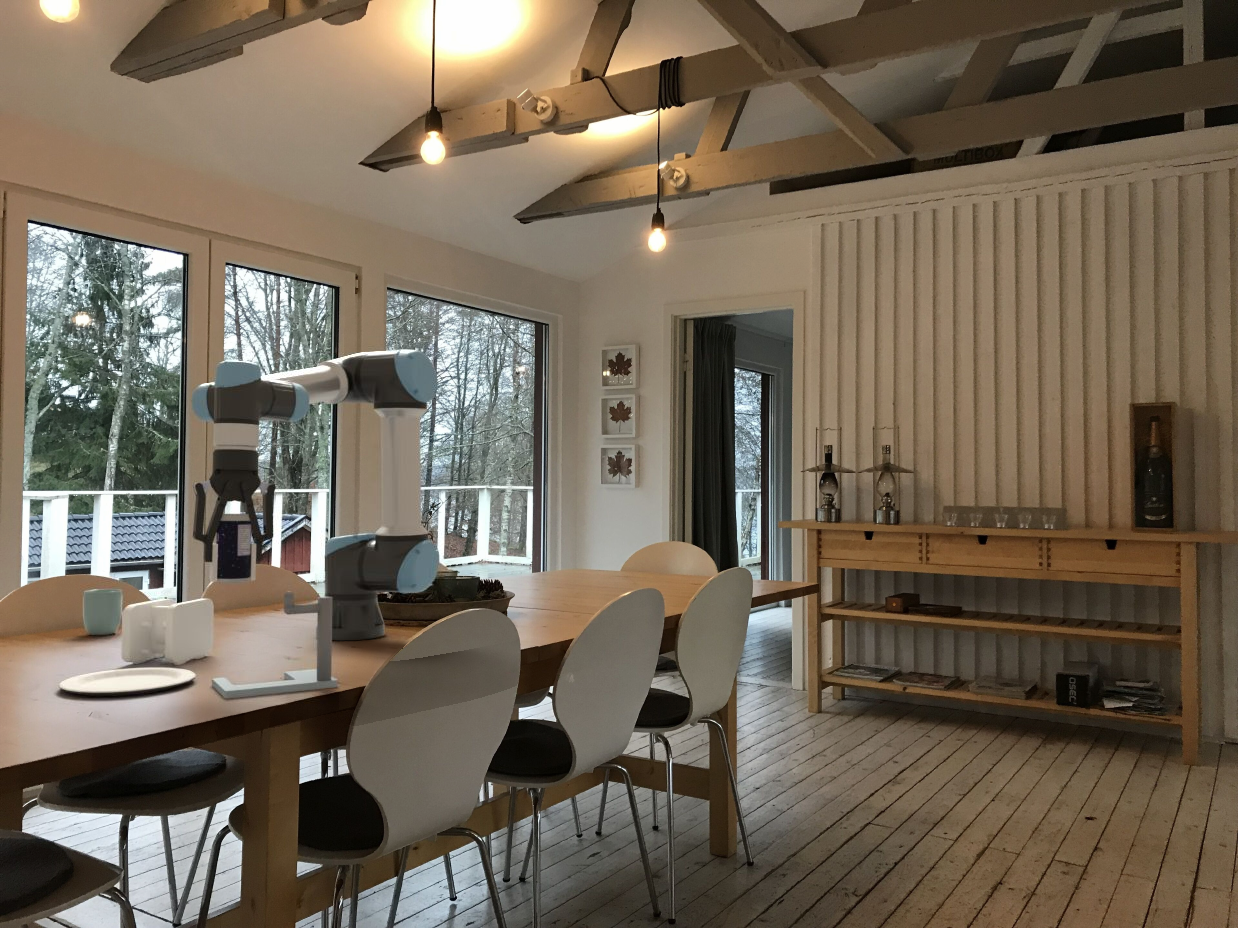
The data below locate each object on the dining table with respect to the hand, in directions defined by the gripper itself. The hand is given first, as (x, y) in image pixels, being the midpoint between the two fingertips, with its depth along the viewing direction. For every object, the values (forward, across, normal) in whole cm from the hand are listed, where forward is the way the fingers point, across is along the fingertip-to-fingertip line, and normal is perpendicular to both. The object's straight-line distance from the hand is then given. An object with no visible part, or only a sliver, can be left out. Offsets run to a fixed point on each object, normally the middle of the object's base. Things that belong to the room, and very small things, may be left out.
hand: (232, 580), depth 170 cm
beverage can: (+1, 0, 0) cm, 1 cm away
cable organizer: (+18, +6, -27) cm, 33 cm away
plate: (+18, +15, -4) cm, 24 cm away
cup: (+17, +14, -71) cm, 75 cm away
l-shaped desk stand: (+18, -6, +9) cm, 20 cm away
